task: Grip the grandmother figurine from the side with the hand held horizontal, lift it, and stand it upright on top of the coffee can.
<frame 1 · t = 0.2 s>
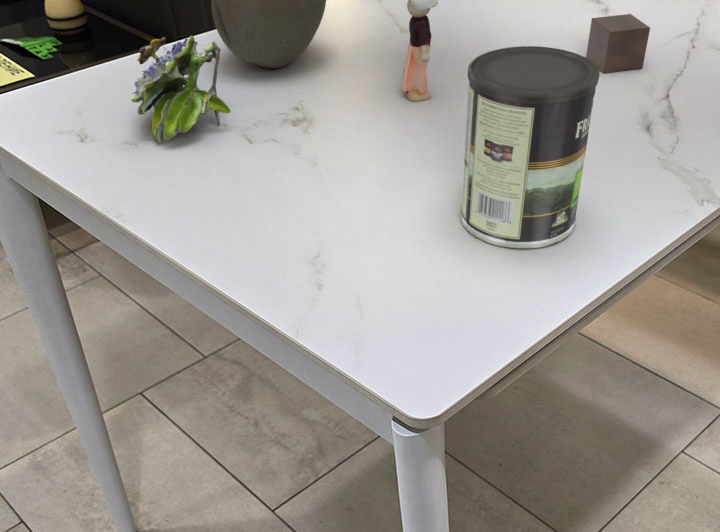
grandmother figurine: (417, 96, 99), on the table
coffee can: (516, 219, 77), on the table
walnut block: (613, 63, 104), on the table
passion flower: (188, 123, 96), on the table
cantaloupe: (274, 63, 109), on the table
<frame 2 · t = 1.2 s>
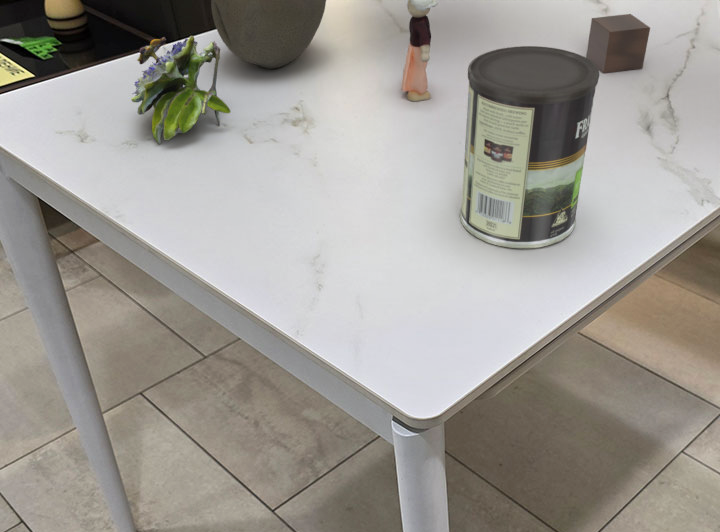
nothing on the table moved.
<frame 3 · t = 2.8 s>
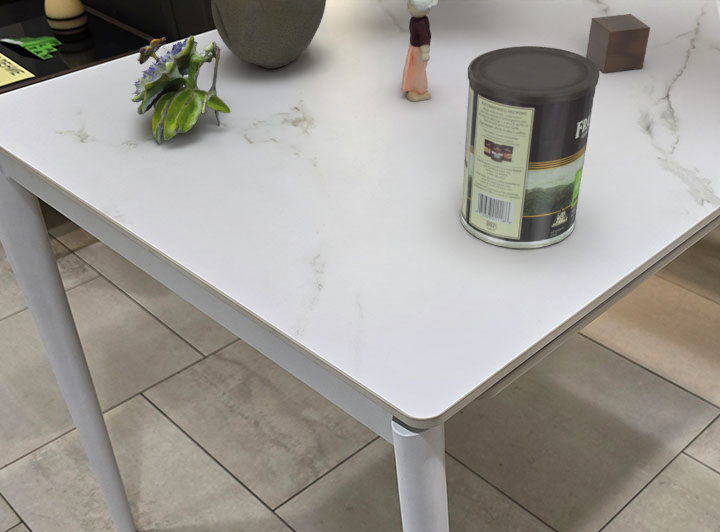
nothing on the table moved.
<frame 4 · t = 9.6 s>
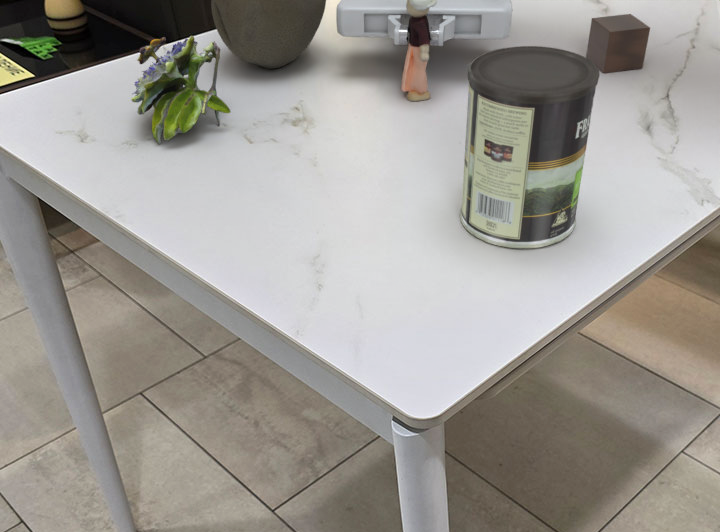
hand: (418, 38, 94), 7 cm above the table, tool horizontal, fingers closed on grandmother figurine, 2 cm apart
grandmother figurine: (417, 96, 99), on the table, touching gripper
everything else where it was.
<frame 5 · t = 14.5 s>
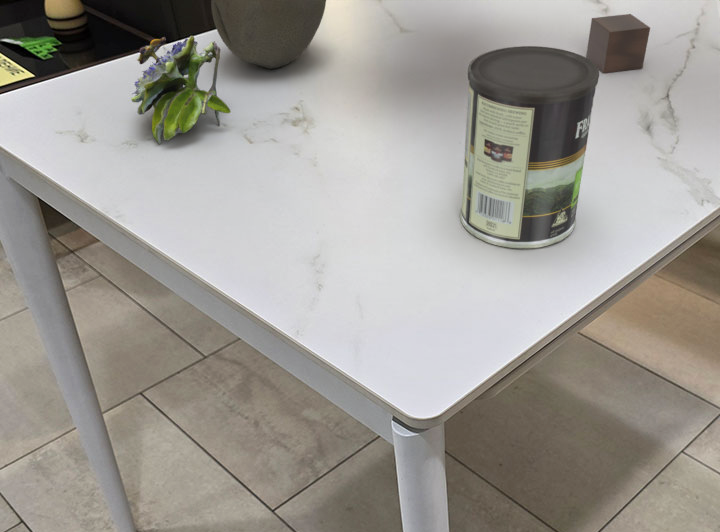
when the fingers open (21 cm above the table, at t = 19.8 s): grandmother figurine stays where it is, resting on coffee can.
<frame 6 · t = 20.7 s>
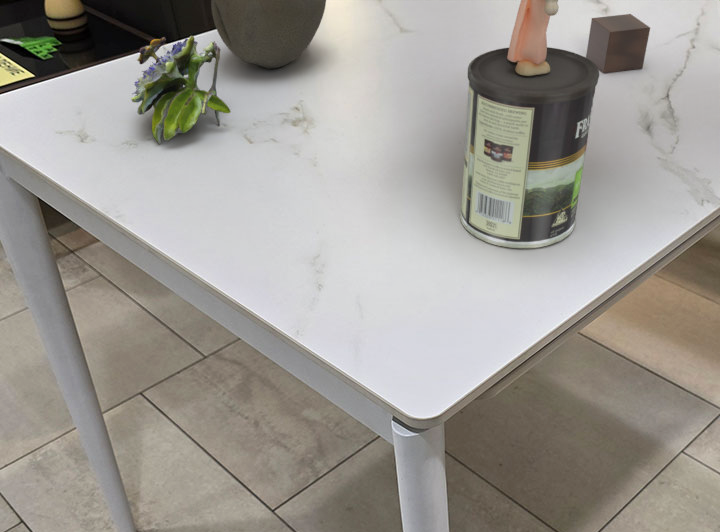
grandmother figurine: (529, 69, 69), point 14 cm above the table, touching coffee can
coffee can: (516, 219, 77), on the table, touching grandmother figurine
everything else where it was.
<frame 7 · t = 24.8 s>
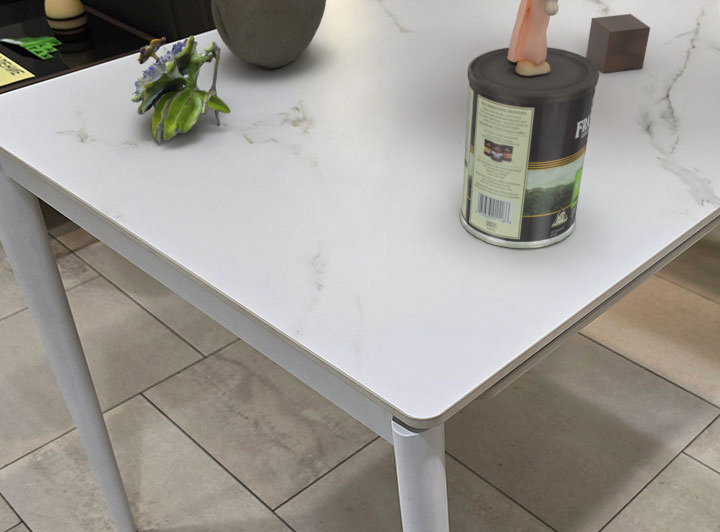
nothing on the table moved.
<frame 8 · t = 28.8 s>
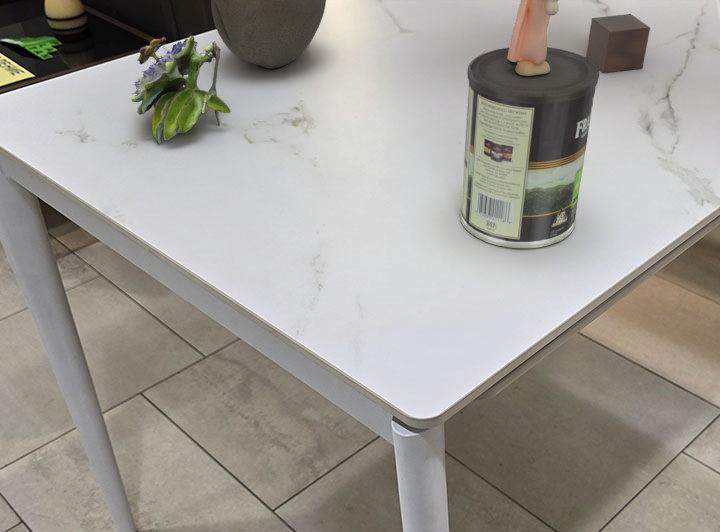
nothing on the table moved.
at the end: grandmother figurine 0.3 cm off-centre on the coffee can, point 14.1 cm above the coffee can's base; grandmother figurine tilted 0°; the gripper is holding nothing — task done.
